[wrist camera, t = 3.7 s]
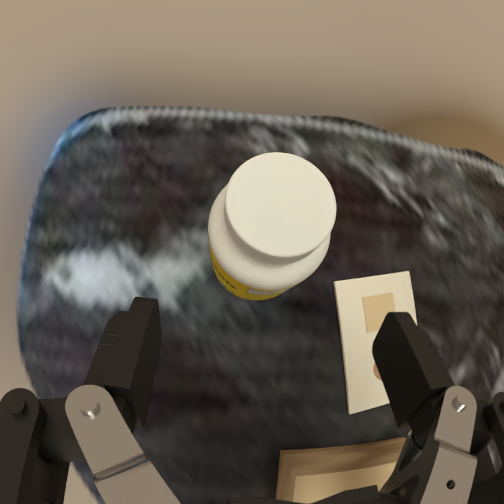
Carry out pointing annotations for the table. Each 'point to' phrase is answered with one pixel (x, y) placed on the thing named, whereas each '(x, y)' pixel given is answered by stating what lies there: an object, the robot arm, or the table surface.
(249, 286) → the supplement bottle
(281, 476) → the beech block
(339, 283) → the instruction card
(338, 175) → the table surface
